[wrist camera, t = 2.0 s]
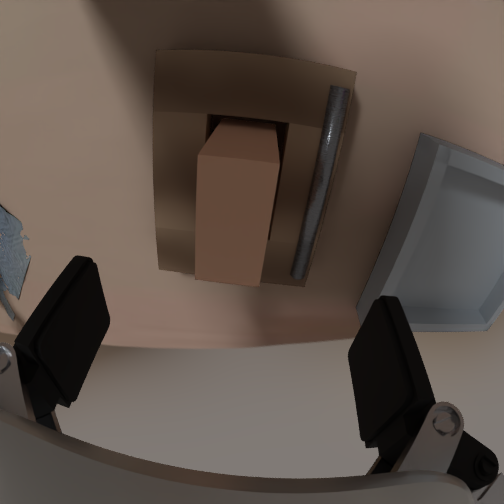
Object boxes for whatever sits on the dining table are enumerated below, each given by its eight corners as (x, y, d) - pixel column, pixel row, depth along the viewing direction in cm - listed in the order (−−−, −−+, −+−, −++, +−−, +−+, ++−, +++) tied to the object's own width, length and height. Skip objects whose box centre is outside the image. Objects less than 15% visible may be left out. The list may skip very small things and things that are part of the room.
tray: (420, 132, 16) (439, 144, 14) (545, 186, 16) (562, 200, 14) (355, 307, 25) (361, 329, 23) (477, 313, 25) (487, 330, 23)
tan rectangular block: (222, 118, 16) (197, 154, 11) (275, 124, 17) (279, 163, 11) (215, 208, 20) (195, 279, 14) (261, 214, 20) (259, 287, 14)
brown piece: (167, 50, 14) (152, 50, 12) (347, 70, 14) (359, 72, 12) (166, 252, 22) (156, 274, 20) (302, 268, 22) (305, 291, 20)
